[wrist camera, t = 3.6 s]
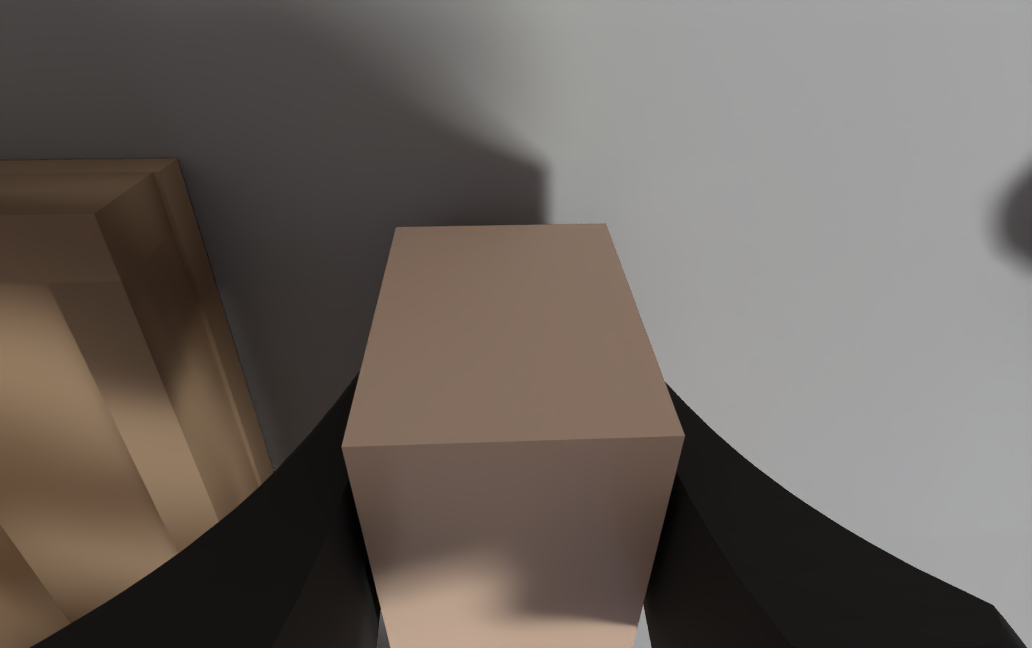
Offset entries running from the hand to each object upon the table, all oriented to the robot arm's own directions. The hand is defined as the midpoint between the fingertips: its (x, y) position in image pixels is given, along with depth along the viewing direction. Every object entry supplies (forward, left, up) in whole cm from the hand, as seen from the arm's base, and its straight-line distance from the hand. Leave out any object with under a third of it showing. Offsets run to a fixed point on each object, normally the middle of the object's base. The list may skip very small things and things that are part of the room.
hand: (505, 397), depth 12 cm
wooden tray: (-5, +11, -3) cm, 12 cm away
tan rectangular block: (-3, 0, -2) cm, 4 cm away
